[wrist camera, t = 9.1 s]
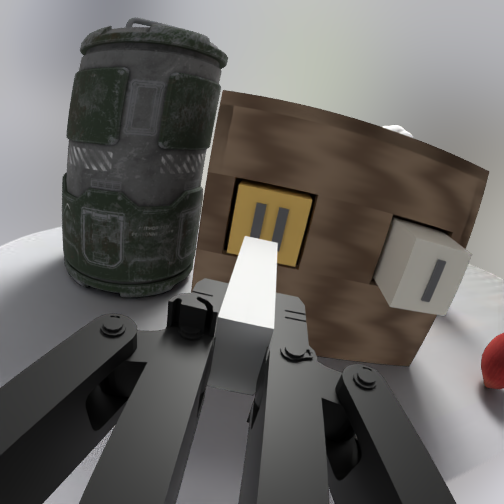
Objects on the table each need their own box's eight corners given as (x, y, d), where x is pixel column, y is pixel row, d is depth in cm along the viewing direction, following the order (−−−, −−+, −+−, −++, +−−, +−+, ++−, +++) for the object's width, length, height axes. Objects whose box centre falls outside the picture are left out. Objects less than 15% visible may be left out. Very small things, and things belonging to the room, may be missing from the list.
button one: (421, 286, 25) (442, 231, 23) (445, 317, 20) (473, 255, 18) (372, 275, 25) (391, 216, 23) (390, 308, 20) (417, 239, 18)
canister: (149, 233, 46) (177, 46, 35) (219, 279, 37) (266, 35, 26) (50, 251, 34) (70, 26, 23) (95, 319, 25) (130, -16, 15)
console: (388, 322, 34) (446, 159, 27) (409, 366, 27) (489, 171, 19) (205, 288, 34) (237, 100, 27) (187, 330, 27) (222, 90, 19)
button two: (292, 243, 28) (306, 187, 26) (295, 267, 23) (312, 200, 21) (235, 231, 28) (245, 174, 26) (226, 253, 23) (238, 185, 21)
